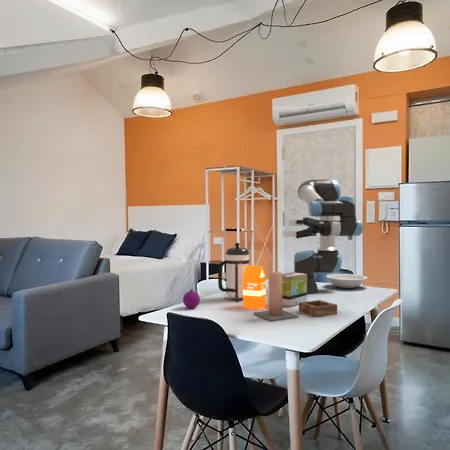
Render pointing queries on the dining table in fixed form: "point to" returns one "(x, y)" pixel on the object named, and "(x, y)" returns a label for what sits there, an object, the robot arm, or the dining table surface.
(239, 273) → the coffee press
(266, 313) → the mat
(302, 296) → the tea box
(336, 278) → the soup bowl
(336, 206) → the robot arm
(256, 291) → the orange juice
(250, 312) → the dining table surface
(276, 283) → the tall peach cylinder
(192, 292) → the christmas ornament
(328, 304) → the pocket
